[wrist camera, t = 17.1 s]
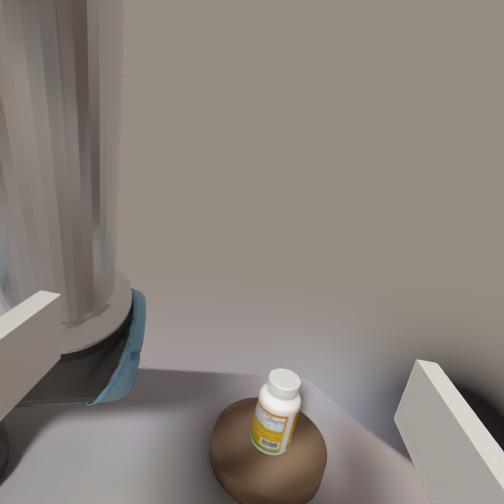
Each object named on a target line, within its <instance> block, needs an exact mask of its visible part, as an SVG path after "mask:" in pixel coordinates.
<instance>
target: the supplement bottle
mask: <svg viewBox="0 0 504 504" xmlns="http://www.w3.org/2000/svg"><path fill="white" fill-rule="evenodd" d="M300 385H301V381H300V378H299V377H298V376H297V375H296V374H295V373H294V372H292V371H290V370H287V369H281V368H280V369H274V370H272V371H271V373H270V374H269V377H268V381H267V383H265V384H264V385H263V386H262V387H261V389H260V392H259V395H258V400H257V405H256V409H255V413H254V418H253V422H252V427H251V432H250V436H251V440H252V443H253V444H254V446H255V447H256V448H257V449H258V450H260V451H261V452H263V453H265V454H268V455H280V454H283V453H284V452H286V451H287V449H288V448H289V446H290V443H291V440H292V436H293V432H294V428H295V425H296V422H297V418H298V414H299V411H300V406H301V397H300V394H299V389H300Z"/></svg>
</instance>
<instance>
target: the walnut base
mask: <svg viewBox="0 0 504 504" xmlns="http://www.w3.org/2000/svg"><path fill="white" fill-rule="evenodd" d="M257 400H258V398H248V399H243V400H240V401H238V402H235V403H233V404H232V405H230V406H228V407H227V408H226V409H225V410H224V411H223V412H222V413H221V414H220V416H219V417H218V419H217V421H216V424H215V427H214V432H213V438H212V443H211V450H210V459H211V464H212V468H213V471H214V474H215V476H216V478H217V480H218V481H219V483H220V484H221V486H222V487H223V488H224V489H225V490H226V492H227V493H228V494H230V495H231V496H232V497H233V498H234V499H236V500H237V501H238V502H240V503H241V504H307V503H308V502H309V501H310V500H311V499H312V498H313V497H314V495H315V494H316V492H317V490H318V488H319V485H320V482H321V479H322V476H323V473H324V470H325V466H326V462H327V452H326V446H325V442H324V440H323V437H322V435H321V434H320V432H319V430H318V429H317V427H316V426H315V425H314V423H313V422H312V421H311V420H310V419H309V418H308V417H307V416H306V415H304V414H303V413H302V412H300V411H299V414H298V418H297V422H296V425H295V428H294V432H293V436H292V440H291V443H290V446H289V448H288V449H287V451H286V452H284V453H283V454H280V455H268V454H265V453H263V452H261V451H260V450H258V449H257V448H256V447H255V446H254V444H253V443H252V440H251V436H250V432H251V427H252V422H253V418H254V413H255V409H256V405H257Z"/></svg>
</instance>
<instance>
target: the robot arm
mask: <svg viewBox="0 0 504 504" xmlns="http://www.w3.org/2000/svg"><path fill="white" fill-rule="evenodd" d="M123 26H124V0H0V478H1V476H2V474H3V472H4V470H5V468H6V465H7V461H8V456H9V445H8V434H7V430H6V427H5V425H4V423H3V422H2V419H3V418H4V417H5V416H6V415H7V414H8V413H9V412H10V411H11V410H12V409H13V408H14V407H33V406H51V405H70V404H84V405H88V406H92V405H94V404H97V403H100V402H109V401H116V400H119V399H121V398H123V397H124V396H126V395H127V394H128V392H129V391H130V389H131V388H132V385H133V383H134V380H135V377H136V374H137V370H138V366H139V360H140V352H141V348H142V344H143V338H144V330H145V319H146V300H145V296H144V295H143V293H141V292H140V291H137V290H134V289H132V288H131V286H130V282H129V280H128V278H127V277H126V275H125V274H124V273H123V272H122V270H121V269H119V268H118V267H117V266H116V256H117V225H118V192H119V159H120V158H119V157H120V125H121V92H122V58H123V57H122V56H123ZM394 421H395V423H396V425H397V427H398V429H399V432H400V434H401V436H402V439H403V441H404V443H405V445H406V448H407V450H408V452H409V454H410V456H411V459H412V461H413V463H414V466H415V468H416V470H417V472H418V475H419V477H420V479H421V481H422V484H423V486H424V488H425V490H426V493H427V495H428V497H429V499H430V502H431V504H504V452H503V451H502V449H501V448H500V447H499V445H498V444H497V443H496V441H495V440H494V439H493V437H492V436H491V435H490V433H489V432H488V431H487V429H486V428H485V427H484V425H483V424H482V423H481V421H480V420H479V419H478V417H477V416H476V415H475V413H474V412H473V411H472V409H471V408H470V407H469V405H468V404H467V403H466V401H465V400H464V399H463V397H462V396H461V395H460V393H459V392H458V391H457V389H456V388H455V387H454V385H453V384H452V382H451V381H450V380H449V378H448V377H447V376H446V374H445V373H444V372H443V370H442V369H441V368H440V367H439V365H438V364H437V363H433V362H428V361H422V360H416V362H415V365H414V367H413V370H412V372H411V375H410V378H409V380H408V383H407V385H406V388H405V391H404V393H403V396H402V399H401V401H400V404H399V406H398V409H397V412H396V414H395V417H394Z"/></svg>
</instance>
